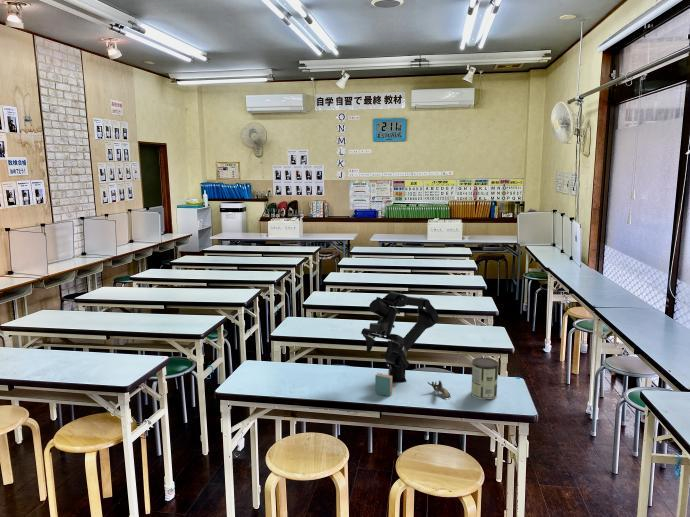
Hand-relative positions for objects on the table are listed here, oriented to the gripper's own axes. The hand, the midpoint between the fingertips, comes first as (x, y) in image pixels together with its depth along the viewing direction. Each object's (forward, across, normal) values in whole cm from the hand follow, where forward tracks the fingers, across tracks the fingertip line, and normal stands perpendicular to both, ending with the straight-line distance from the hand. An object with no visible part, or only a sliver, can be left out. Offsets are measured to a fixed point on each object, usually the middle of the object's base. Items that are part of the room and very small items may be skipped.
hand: (376, 356), depth 210 cm
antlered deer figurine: (+7, +22, +20) cm, 30 cm away
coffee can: (+1, +35, +30) cm, 47 cm away
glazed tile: (+13, +4, +7) cm, 16 cm away
